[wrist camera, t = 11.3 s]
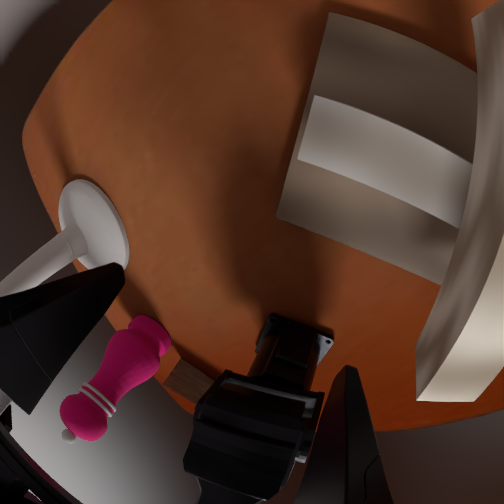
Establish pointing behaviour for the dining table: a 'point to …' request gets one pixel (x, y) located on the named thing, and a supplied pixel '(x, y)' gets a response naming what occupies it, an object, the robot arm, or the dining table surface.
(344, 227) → the ridge stand
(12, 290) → the candlestick
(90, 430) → the pepper mill
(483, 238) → the cream beige bar
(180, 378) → the wood plank
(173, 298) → the dining table surface
